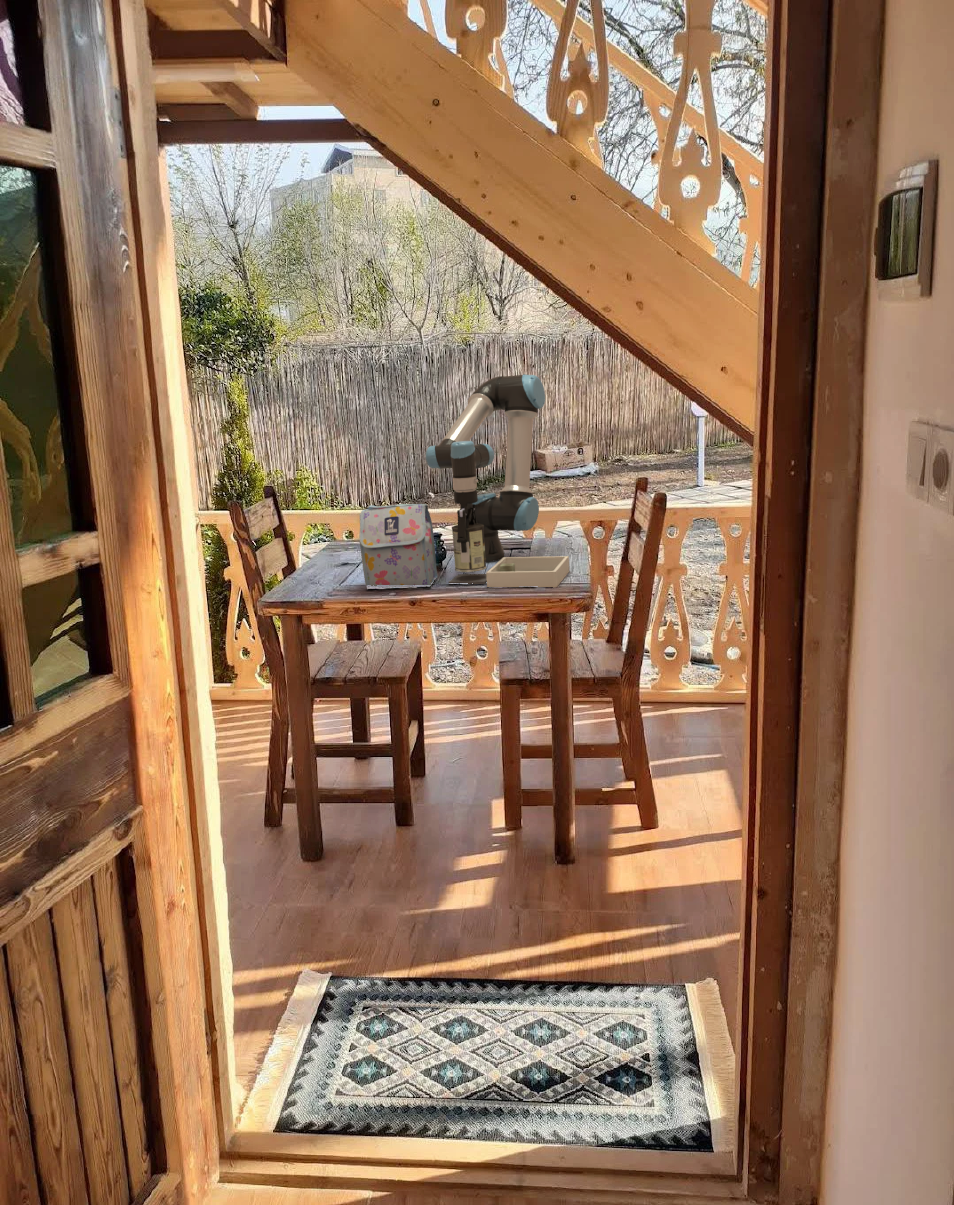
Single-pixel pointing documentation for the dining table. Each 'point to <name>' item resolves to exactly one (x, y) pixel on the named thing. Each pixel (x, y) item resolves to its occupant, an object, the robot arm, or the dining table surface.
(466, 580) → the charcoal mat
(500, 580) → the open crate
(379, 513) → the lunch bag
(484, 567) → the coffee can
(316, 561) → the dining table surface
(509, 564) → the khaki block
